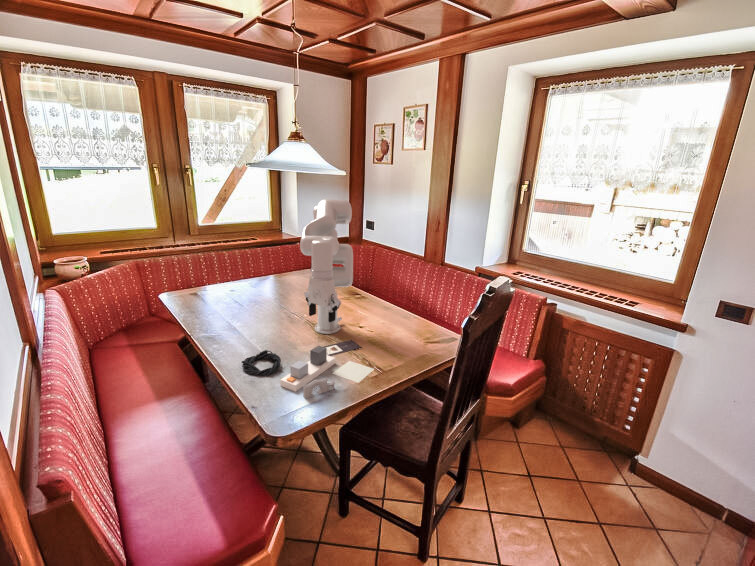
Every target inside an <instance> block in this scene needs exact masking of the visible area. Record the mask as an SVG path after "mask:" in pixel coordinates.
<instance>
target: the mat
mask: <svg viewBox="0 0 755 566" xmlns="http://www.w3.org/2000/svg"><path fill="white" fill-rule="evenodd" d="M374 370H375V368H372V367H370V366H367V365H364V364H360V363H357V362H354V361H351V360H348V361H347V362H346V363H344V364H343V365H341V366H340V367H339V368H337V369H336V370H335V371H333V372H332V373H331V374H332V375H335V376H338V377H341V378H343V379H346V380H349V381H352V382H354V383H357V384H359V383H360V382H361V381H362V380H364V379H365V378H366V377H367V376H369V375H370V374H371V373H372V372H373V371H374Z"/></svg>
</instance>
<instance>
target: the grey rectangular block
mask: <svg viewBox="0 0 755 566" xmlns="http://www.w3.org/2000/svg"><path fill="white" fill-rule="evenodd" d="M309 355H310V356H309V357H310V360H309V361H310V363H311V364H314V365H317V366H321V365H322V364H324V363H325V362H326V361H327V348H324V346H321V345H317V346H315V347H313V348H312V349H310V354H309Z"/></svg>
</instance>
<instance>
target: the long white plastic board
mask: <svg viewBox="0 0 755 566" xmlns="http://www.w3.org/2000/svg"><path fill="white" fill-rule="evenodd" d="M306 363H308V373H307V375H306V376H305V377H303V378H302V379H300V380H299V379H296V378H293V377H292V376H291V372H290V373H288V374H287V375H284V377H282V378H280V380H279V381H280V382H279V383H280V387H282V388H285V389H287V390H290V391H293V392H297V391H298V390H300V389H302V388H303V387H302V386H304V385H308V384H309V383H310V382H312V381H313V380H315V379H316V378H317V377H318V376H319V375H321V374H323V373H324V372H325V371H326V370H328V369H329V368H331V367H332V366H334V365H335V364H336V357H334V356H328V355H327V361H326V362H325V363H324V364H322V365H321V366H317V365H314V364H311V363H310V360H308V361H306Z"/></svg>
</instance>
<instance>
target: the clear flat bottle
mask: <svg viewBox="0 0 755 566" xmlns="http://www.w3.org/2000/svg"><path fill="white" fill-rule="evenodd" d="M335 384H336V382H335V381H334V380H332V381H331V382H329V379H328V377H327V378H324V379H316V378H315V379H313V380H311V381H310V382H309V383H307V384H306V385H304V386H302V387H301V388H303V398H304V399H308V398H311V397H315V395H316V394H317V395H321V394H323V393H326V392H329V391H333V390H334V389H335Z"/></svg>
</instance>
